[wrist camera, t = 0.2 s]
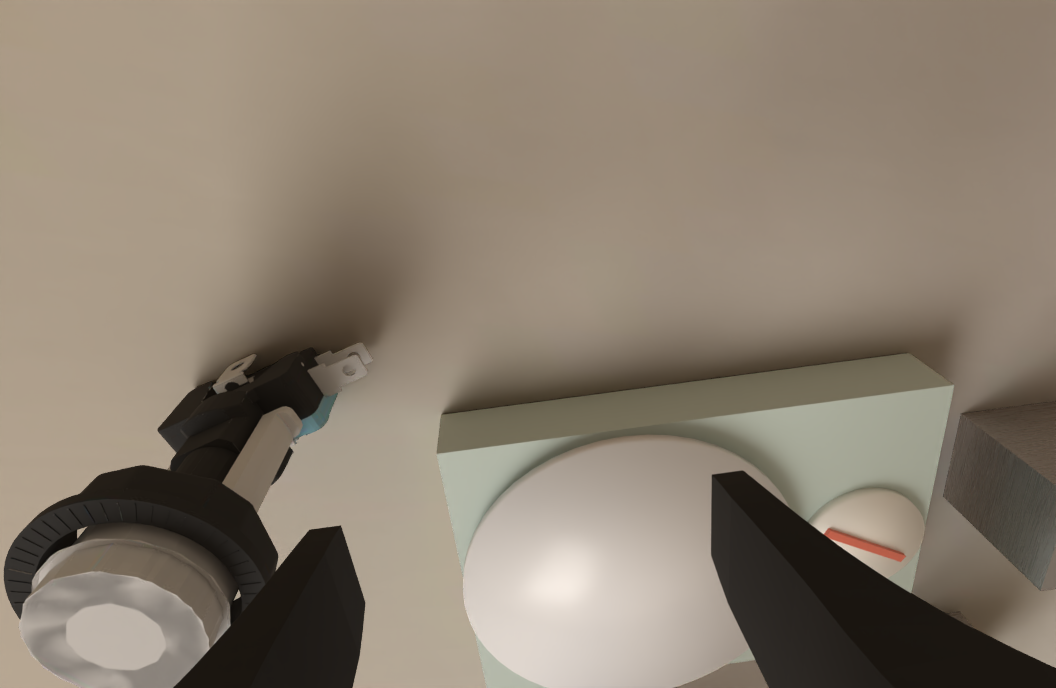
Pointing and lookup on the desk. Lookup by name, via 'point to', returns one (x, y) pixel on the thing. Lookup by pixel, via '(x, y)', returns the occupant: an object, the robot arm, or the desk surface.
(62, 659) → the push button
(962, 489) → the block
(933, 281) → the desk surface
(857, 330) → the desk surface
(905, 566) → the scale
